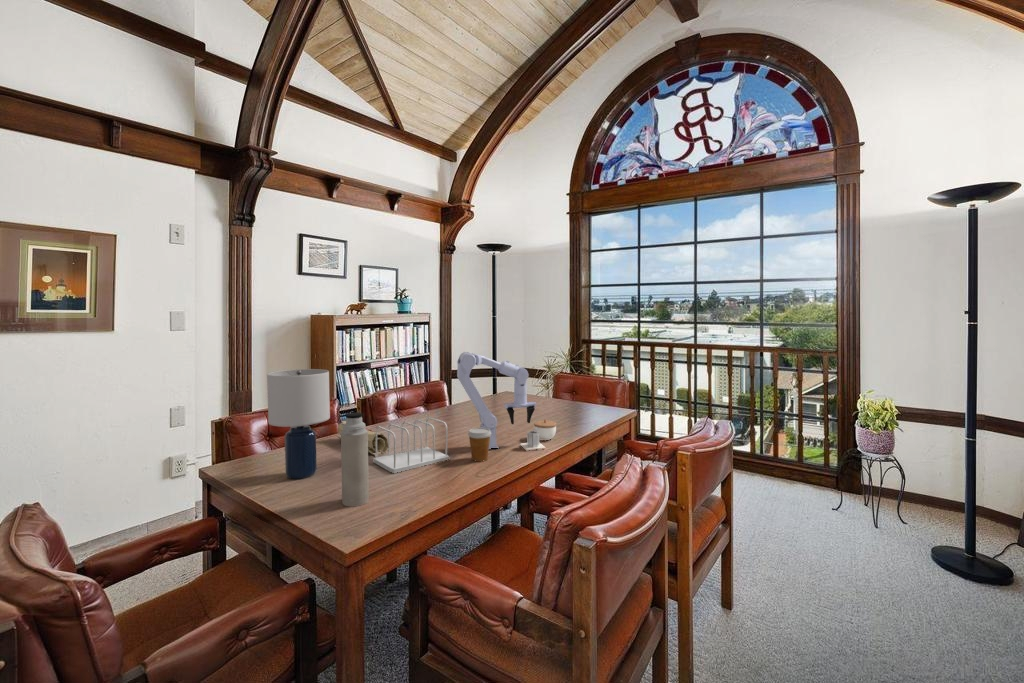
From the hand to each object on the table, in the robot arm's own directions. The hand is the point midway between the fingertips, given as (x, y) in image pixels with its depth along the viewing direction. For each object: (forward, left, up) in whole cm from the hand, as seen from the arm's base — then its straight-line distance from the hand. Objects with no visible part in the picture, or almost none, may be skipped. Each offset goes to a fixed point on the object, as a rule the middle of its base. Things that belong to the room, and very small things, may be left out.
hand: (520, 423), depth 205 cm
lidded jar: (+14, +6, -10) cm, 18 cm away
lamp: (-89, -17, -10) cm, 91 cm away
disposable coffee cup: (-22, -16, -10) cm, 29 cm away
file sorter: (-49, -11, -10) cm, 51 cm away
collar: (+4, -6, -9) cm, 12 cm away
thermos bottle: (-68, -47, -10) cm, 83 cm away
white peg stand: (+4, -6, -10) cm, 12 cm away
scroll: (-70, +15, -10) cm, 73 cm away
